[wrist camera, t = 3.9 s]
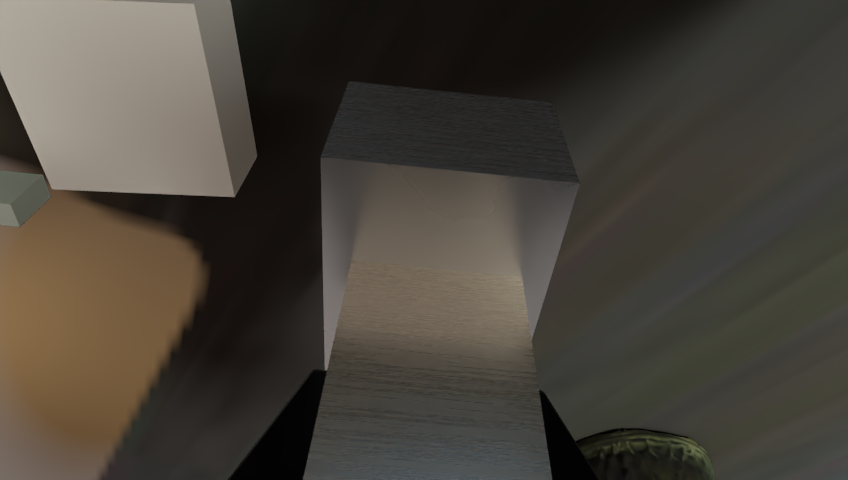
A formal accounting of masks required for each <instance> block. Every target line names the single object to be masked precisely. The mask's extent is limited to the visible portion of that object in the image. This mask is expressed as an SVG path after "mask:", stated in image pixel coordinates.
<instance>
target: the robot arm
mask: <svg viewBox="0 0 848 480" xmlns="http://www.w3.org/2000/svg"><path fill="white" fill-rule="evenodd" d="M326 373H327V370H319V369H316V370H313V371H312V372H311V373H310V374H309V375H308V376H307V378H306V379H305V380H304V381H303V383H302V384H301V385H300V387H299V388H298V389H297V390H296V392H295V393H294V394H293V396H292V397H291V398H290V400H289V401H288V402H287V403H286V405H285V406H284V407H283V409H282V410H281V411H280V412H279V414H278V415H277V416H276V418H275V419H274V420H273V422H272V423H271V424H270V425H269V427H268V428H267V429H266V431H265V432H264V433H263V435H262V436H261V437H260V438H259V440H258V441H257V442H256V444H255V445H254V446H253V447H252V449H251V450H250V451H249V453H248V454H247V455H246V457H245V458H244V459H243V460H242V462H241V463H240V464H239V466H238V467H237V468H236V469H235V471H234V472H233V473H232V475H231V476H230V477H229V479H228V480H303V477H304V473H305V468H306V464H307V459H308V455H309V450H310V446H311V441H312V437H313V432H314V427H315V423H316V418H317V414H318V409H319V405H320V400H321V396H322V391H323V387H324V382H325V378H326ZM539 394H540V401H541V408H542V415H543V421H544V428H545V435H546V441H547V448H548V455H549V461H550V468H551V475H552V480H599V478H598V476H597V475H596V473H595V472H594V470H593V469H592V467H591V465H590V464H589V462H588V461H587V459H586V457H585V456H584V454H583V453H582V451H581V450H580V448H579V446H578V445H577V443H576V442H575V440H574V439H573V437H572V435H571V434H570V432H569V431H568V429H567V428H566V426H565V424H564V423H563V421H562V420H561V418H560V416H559V415H558V413H557V412H556V410H555V409H554V407H553V405H552V404H551V402H550V401H549V399H548V398H547V396H546V394H545V393H544V392H543V391H541V390H539Z"/></svg>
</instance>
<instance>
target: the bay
mask: <svg viewBox="0 0 848 480" xmlns="http://www.w3.org/2000/svg"><path fill="white" fill-rule="evenodd" d="M50 197H51V195H50V192H49V190H48V187H47V184H46V181H45V179H44V176H43V175H42V174H32V173H22V172H12V171H2V170H0V225H4V226H13V227H21V226H22V225H23V224H24V223H25V222H26V221H27V219H29V218H30V217H31V216H32V215H33V214H34V213H35V212H36V211H37V210H38V209H39V208H40V207H41V206H42V205H43V204H44V203H45V202H46V201H47V200H48V199H49V198H50Z"/></svg>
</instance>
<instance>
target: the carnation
mask: <svg viewBox="0 0 848 480" xmlns="http://www.w3.org/2000/svg"><path fill="white" fill-rule="evenodd" d="M577 445H578V446H579V448H580V450H581V451H582V453H583V454H584V456H585V457H586V459H587V461H588V462H589V464H590V465H591V467H592V469H593V470H594V472H595V473H596V475H597V476H598V478H599V480H715V477H714V470H713V465H712V462H711V459H710V457H709V455H708V454H707V452H706V451H705V450H704V449H703V448H702V447H701V446H698V444H697V443H696V442H695V441H694V440H693V439H691V438H684V437H677V436H673V435H670V434H663V433H654V432H650V431H646V430H629V431H628V430H626V429H624V432H623V431H621V430H620V429H619V430H618V431H616V432H614V433H608V434H597V435H594V436H592V437H591V438H586V439H583V440H582V441H580V442H578V443H577Z"/></svg>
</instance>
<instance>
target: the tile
mask: <svg viewBox="0 0 848 480" xmlns="http://www.w3.org/2000/svg"><path fill="white" fill-rule="evenodd" d="M0 72H1V74H2V77H3V79H4V81H5V84H6V86H7V88H8V90H9V93H10V95H11V97H12V99H13V102H14V104H15V106H16V108H17V111H18V113H19V115H20V118H21V120H22V122H23V124H24V127H25V129H26V131H27V133H28V136H29V138H30V140H31V143H32V145H33V147H34V149H35V152H36V154H37V156H38V158H39V161H40V163H41V165H42V168H43V170H44V172H45V174H46V177H47V179H48V181H49V183H50V186H51V188H52V189H55V190H79V191H102V192H126V193H149V194H173V195H196V196H220V197H235V196H236V194H237V192H238V190H239V189H240V187H241V185H242V183H243V181H244V180H245V178H246V176H247V174H248V172H249V171H250V169H251V167H252V165H253V163H254V162H255V160H256V158H257V151H256V145H255V140H254V134H253V128H252V122H251V117H250V111H249V105H248V99H247V94H246V88H245V82H244V76H243V71H242V65H241V59H240V53H239V48H238V42H237V36H236V30H235V25H234V19H233V13H232V7H231V2H230V0H0Z"/></svg>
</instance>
